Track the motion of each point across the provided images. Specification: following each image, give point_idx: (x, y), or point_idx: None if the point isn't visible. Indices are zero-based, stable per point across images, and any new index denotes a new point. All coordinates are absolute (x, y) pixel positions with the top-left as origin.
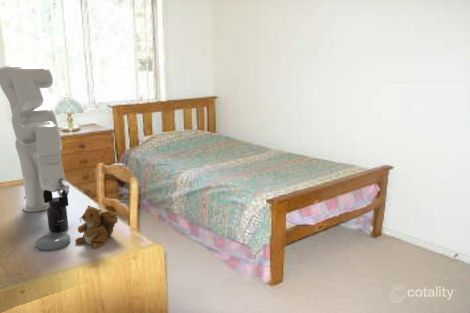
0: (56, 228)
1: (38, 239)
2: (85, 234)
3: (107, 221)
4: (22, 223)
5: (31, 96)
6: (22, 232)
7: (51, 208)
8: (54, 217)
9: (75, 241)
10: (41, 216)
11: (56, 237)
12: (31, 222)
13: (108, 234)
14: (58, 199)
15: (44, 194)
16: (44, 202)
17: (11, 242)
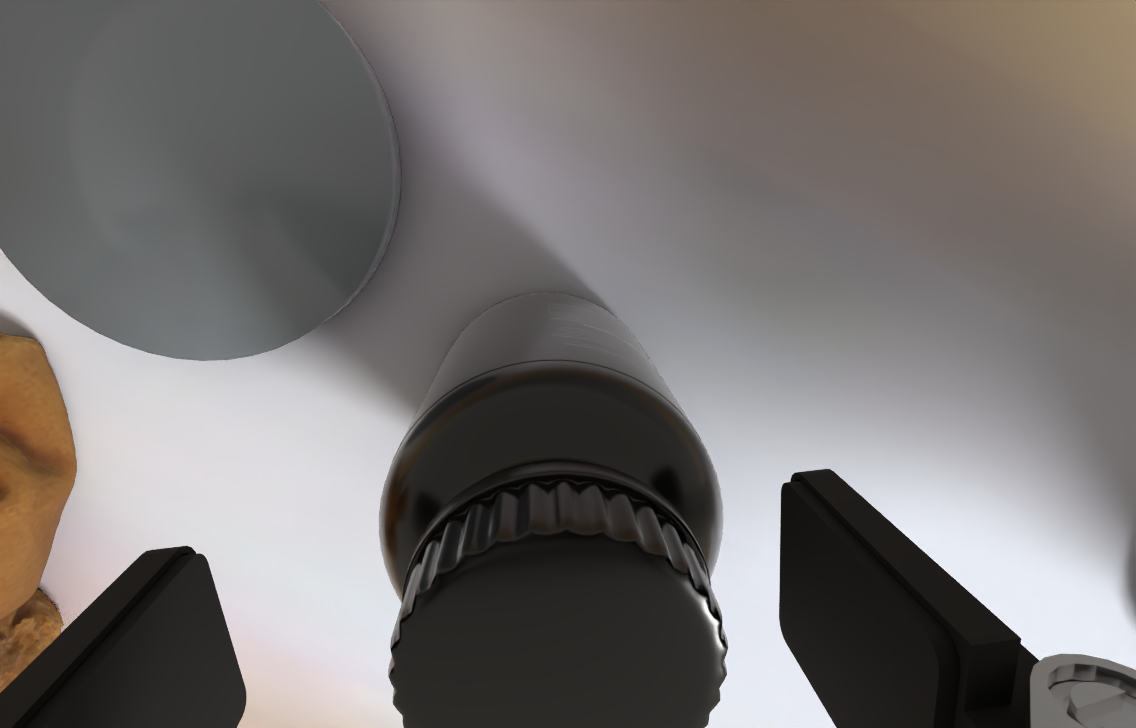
0: (453, 344)
1: (324, 28)
2: None
3: None
4: (1073, 200)
5: None
6: (827, 66)
7: (498, 445)
8: (435, 386)
9: (5, 336)
10: (1049, 437)
11: (216, 223)
12: (1001, 285)
13: None
14: (498, 717)
15: (920, 621)
16: (822, 469)
17: None
